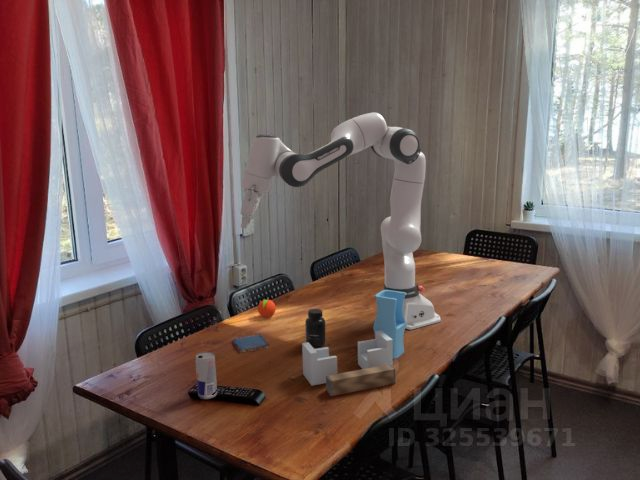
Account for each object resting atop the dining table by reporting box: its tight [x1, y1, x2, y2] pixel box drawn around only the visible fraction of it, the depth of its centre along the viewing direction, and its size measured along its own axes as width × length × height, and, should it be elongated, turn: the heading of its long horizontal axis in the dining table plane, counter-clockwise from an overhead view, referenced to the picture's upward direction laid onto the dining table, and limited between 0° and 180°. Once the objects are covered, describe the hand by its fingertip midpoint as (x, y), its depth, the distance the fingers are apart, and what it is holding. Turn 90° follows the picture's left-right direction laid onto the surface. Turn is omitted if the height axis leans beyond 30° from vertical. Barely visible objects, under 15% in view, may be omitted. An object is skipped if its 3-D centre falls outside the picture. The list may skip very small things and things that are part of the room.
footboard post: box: [301, 342, 338, 386], centre depth 168 cm, size 8×8×10 cm
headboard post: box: [357, 330, 394, 369], centre depth 174 cm, size 8×8×10 cm
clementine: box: [257, 299, 277, 318], centre depth 219 cm, size 8×7×7 cm
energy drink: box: [194, 351, 218, 400], centre depth 159 cm, size 5×5×12 cm
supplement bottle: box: [304, 308, 326, 349], centre depth 192 cm, size 7×7×12 cm
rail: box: [325, 364, 396, 397], centre depth 162 cm, size 20×4×4 cm, turn 110°
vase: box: [372, 289, 406, 360], centre depth 183 cm, size 8×8×20 cm
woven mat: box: [231, 333, 270, 354], centre depth 194 cm, size 10×11×2 cm
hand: (245, 225), depth 183 cm, fingers open, 8 cm apart
